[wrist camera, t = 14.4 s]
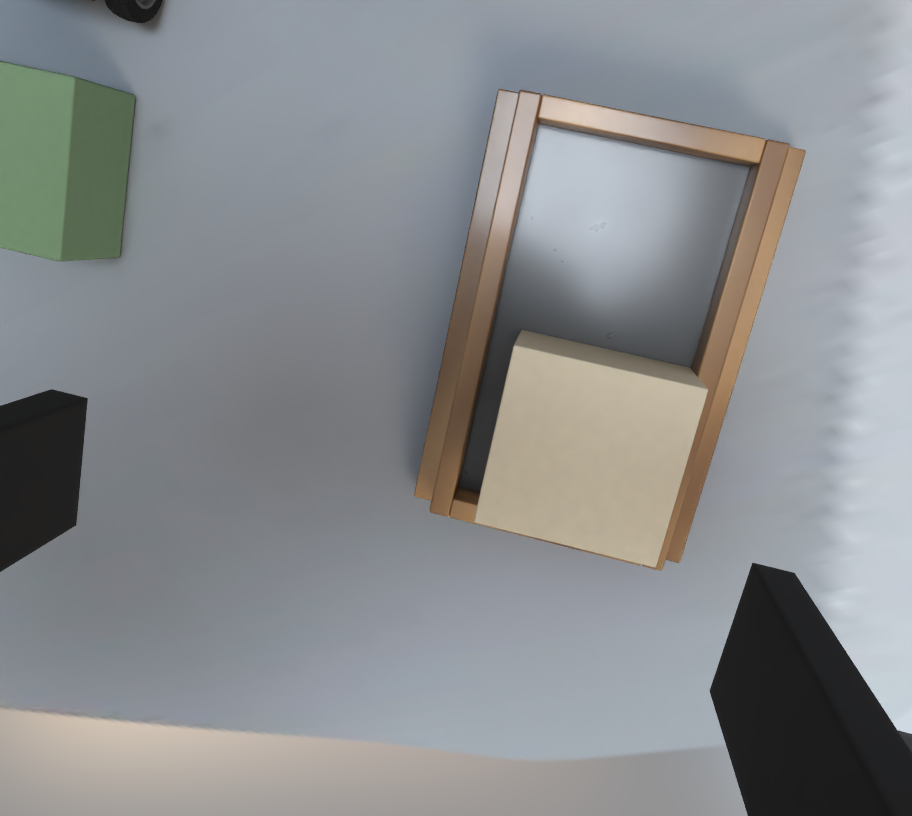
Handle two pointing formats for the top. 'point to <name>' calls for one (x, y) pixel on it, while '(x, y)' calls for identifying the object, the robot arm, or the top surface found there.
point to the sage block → (62, 164)
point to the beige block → (590, 447)
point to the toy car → (134, 9)
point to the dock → (605, 269)
